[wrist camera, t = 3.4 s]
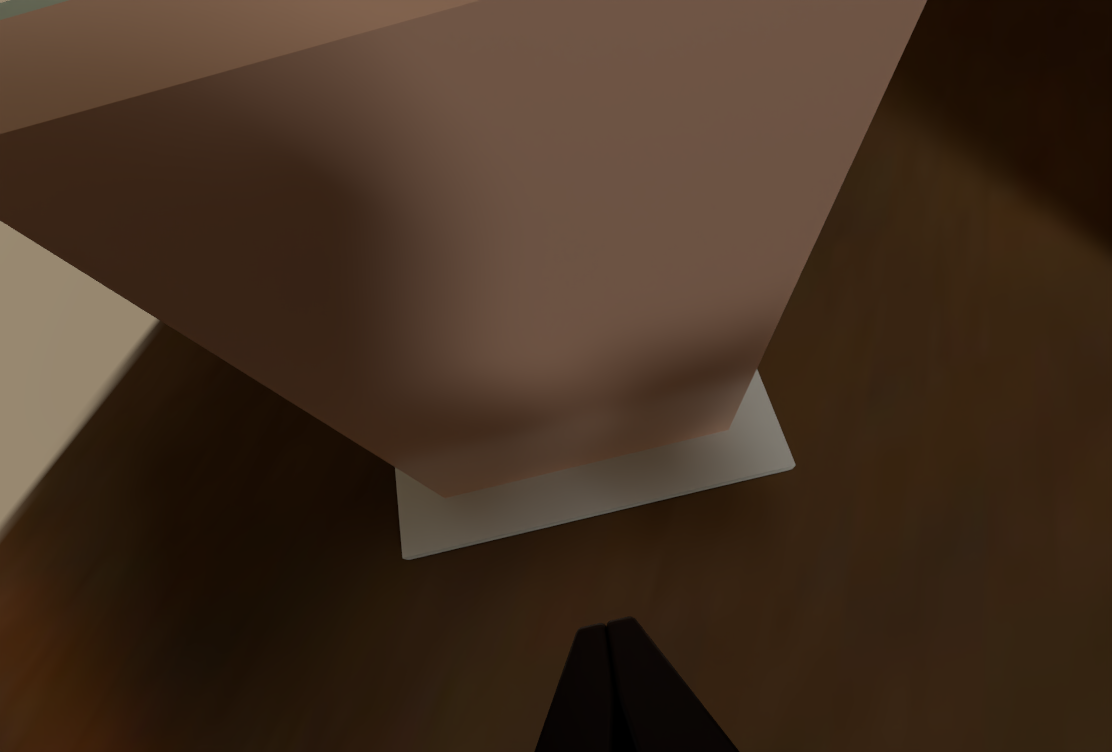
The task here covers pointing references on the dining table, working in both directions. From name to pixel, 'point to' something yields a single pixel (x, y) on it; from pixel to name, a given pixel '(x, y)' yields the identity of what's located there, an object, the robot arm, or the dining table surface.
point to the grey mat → (595, 484)
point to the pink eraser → (451, 200)
